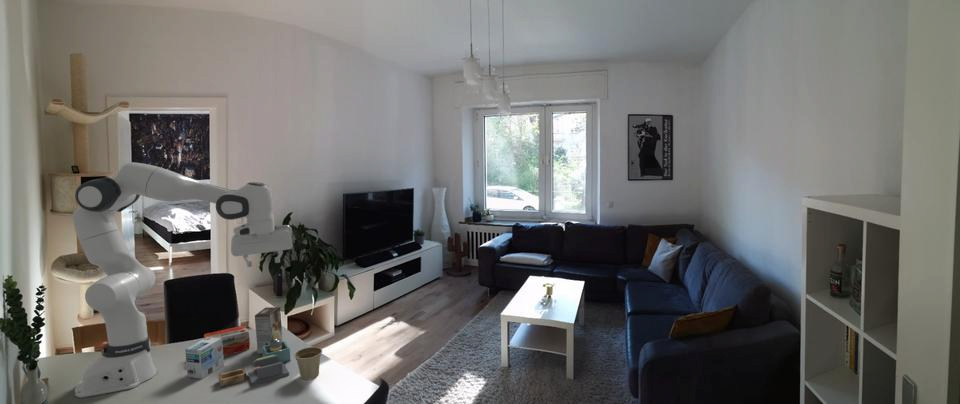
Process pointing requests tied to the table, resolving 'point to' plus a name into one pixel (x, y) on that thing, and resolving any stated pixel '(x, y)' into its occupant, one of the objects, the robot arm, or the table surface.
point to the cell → (275, 345)
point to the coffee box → (268, 326)
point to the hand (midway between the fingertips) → (263, 264)
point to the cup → (278, 352)
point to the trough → (232, 377)
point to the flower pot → (308, 361)
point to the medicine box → (232, 339)
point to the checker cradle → (267, 370)
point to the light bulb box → (204, 357)
